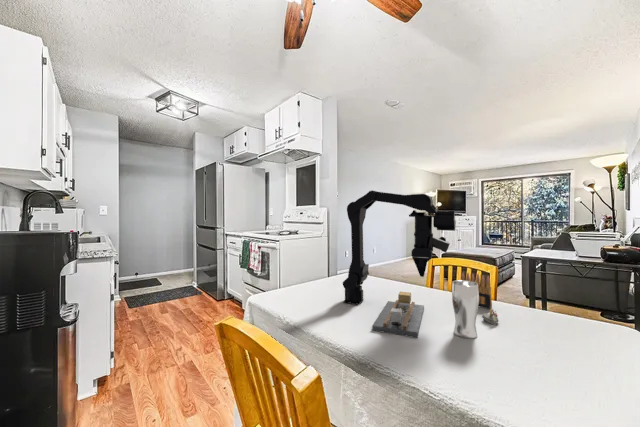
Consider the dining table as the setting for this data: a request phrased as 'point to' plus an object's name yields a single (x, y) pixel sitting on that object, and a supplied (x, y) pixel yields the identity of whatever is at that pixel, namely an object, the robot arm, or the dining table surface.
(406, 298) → the tan wooden block
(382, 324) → the bolt plate
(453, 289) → the beer glass
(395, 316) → the fixed leg
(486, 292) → the ammunition clip
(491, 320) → the figurine
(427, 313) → the dining table surface
